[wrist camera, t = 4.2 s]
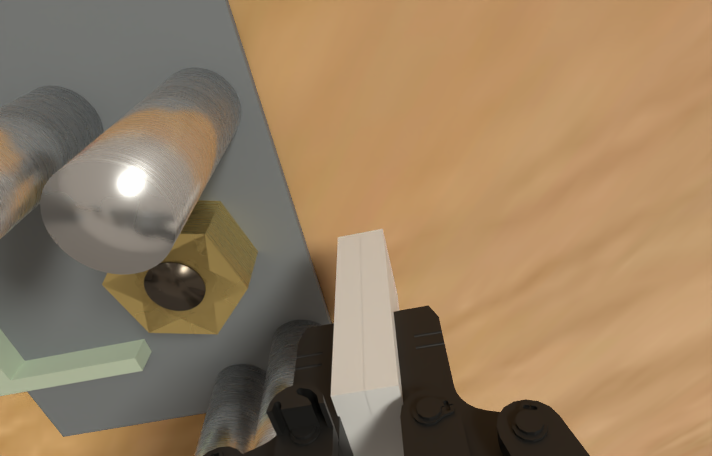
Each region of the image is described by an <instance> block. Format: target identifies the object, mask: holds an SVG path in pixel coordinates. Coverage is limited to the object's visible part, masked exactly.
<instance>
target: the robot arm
mask: <svg viewBox="0 0 712 456" xmlns="http://www.w3.org/2000/svg"><path fill="white" fill-rule="evenodd" d="M266 413H267V415H268V417H269V419H270V421H271V424H272V426H273V428H274V430H275V432H276V434H277V435H276V436H275V437H274V438H273V439H271V440H270V441H268V442H267V443H265V444H263V445H261V446H259V447H257V448H255V449H253V450H250V451H248V452H246V453H244V454H242V453H241V452H240V451H239V450H238V449H236V448H233V447H230V446H226V447H218V448H216V449H214V450H211V451H209V452H207V453H206V454H205V455H203V456H590V455H589V454H588V453H587V451H586V450H585V449H584V447H583V446H582V445H581V443H580V442H579V441H578V440H577V438H576V437H575V436H574V434H573V433H572V432H571V430H570V429H569V428H568V426H567V425H566V424H565V422H564V421H563V420H562V418H561V417H560V416H559V415H558V414H557V413H556V412H555V411H554V410H553V409H552V408H551V407H550V406H547V405H545V404H543V403H541V402H539V401H532V400H521V401H515V402H512V403H511V404H509V405H507V406H506V407H504V408H503V409H502V411H501V412H495V411H487V410H482V409H478V408H475V407H473V406H471V405H469V404H467V403H466V402H465V401H463V400H462V399H461V398H460V397H459V395H458V394H457V393H456V390H455V388H454V384H453V380H452V375H451V371H450V366H449V362H448V357H447V353H446V348H445V344H444V339H443V335H442V330H441V326H440V321H439V317H438V316H437V314H436V313H435V312H434V311H433V310H432V309H431V308H430V307H429V306H424V307H418V308H412V309H406V310H401V311H399V304H398V296H397V290H396V286H395V281H394V277H393V272H392V268H391V264H390V259H389V255H388V250H387V246H386V241H385V237H384V233H383V229H379V230H374V231H369V232H363V233H358V234H353V235H348V236H343V237H338V248H337V269H336V291H335V312H334V323H333V324H327V325H321V326H315V327H310V328H307V329H306V330H305V332H304V334H303V335H302V337H301V338H300V340H299V342H298V349H297V359H296V364H295V372H294V380H293V386H290V387H287V388H285V389H284V390H282V391H281V392H279V393H278V394H277V395H276V396H275V397H274V398H273V399H272V400H271V402H270V403H269V406H268V408H267V411H266Z"/></svg>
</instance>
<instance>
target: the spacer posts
mask: <svg viewBox="0 0 712 456" xmlns="http://www.w3.org/2000/svg"><path fill="white" fill-rule="evenodd" d="M240 120H241V104H240V100H239V98H238V95H237V93H236V91H235V90H234V88H233V87H232V85H231V84H230V83H229V82H228V81H227V80H226V79H225V78H223V77H222V76H221V75H219V74H217V73H215V72H213V71H211V70H208V69H204V68H198V67H192V68H186V69H182V70H180V71H178V72H176V73H174V74H173V75H172V76H171V77H169V78H168V79H167V80H166V81H165V82H163V83H162V84H161V85H160V86H159V87H157V88H156V89H155V90H154V91H153V92H151V93H150V94H149V95H148V96H147V97H145V98H144V99H143V100H142V101H141V102H139V103H138V104H137V105H136V106H135V107H133V108H132V109H131V110H130V111H129V112H127V113H126V114H125V115H124V116H123V117H121V118H120V119H119V120H118V121H117V122H116V123H114V124H113V125H112V126H111V127H110V128H108V129H107V130H106V131H105V132H104V129H103V124H102V121H101V119H100V116H99V115H98V113H97V111H96V110H95V109H94V107H93V106H92V105H91V104H90V103H89V102H88V101H87V100H86V99H85V98H84V97H82V96H81V95H79V94H78V93H76V92H74V91H72V90H70V89H67V88H64V87H60V86H42V87H39V88H37V89H35V90H33V91H31V92H29V93H27V94H25V95H23V96H21V97H19V98H17V99H15V100H13V101H11V102H10V103H8V104H6V105H4V106H2V107H0V239H1V238H2V237H3V236H4V235H5V234H7V233H8V232H9V231H10V230H11V229H12V228H13V227H14V226H15V225H17V224H18V223H19V222H20V221H21V220H22V219H23V218H24V217H26V216H27V215H28V214H29V213H30V212H31V211H32V210H33V209H34V208H36V207H37V206H38V205H39V204H40V209H41V215H42V220H43V222H44V225H45V227H46V229H47V231H48V233H49V234H50V236H51V237H52V239H53V240H54V241H55V243H56V244H57V245H58V246H59V247H60V248H61V249H62V250H63V251H64V252H65V253H67V254H68V255H69V256H71V257H72V258H73V259H75V260H76V261H78V262H80V263H82V264H84V265H86V266H88V267H90V268H93V269H95V270H98V271H102V272H106V273H111V274H121V275H122V274H135V273H140V272H144V271H147V270H149V269H151V268H153V267H155V266H157V265H158V264H159V263H161V262H162V261H163V260H164V259H165V258H166V257H167V255H168V254H169V252H170V251H171V249H172V247H173V245H174V243H175V242H176V240H177V238H178V236H179V234H180V233H181V231H182V229H183V227H184V225H185V223H186V222H187V220H188V218H189V216H190V214H191V212H192V211H193V209H194V207H195V205H196V203H197V202H198V200H199V198H200V196H201V194H202V192H203V191H204V189H205V187H206V185H207V183H208V181H209V180H210V178H211V176H212V174H213V172H214V170H215V169H216V167H217V165H218V163H219V161H220V160H221V158H222V156H223V154H224V152H225V150H226V149H227V147H228V145H229V143H230V141H231V139H232V138H233V136H234V134H235V132H236V130H237V129H238V126H239V124H240ZM315 326H321V325H320V324H318V323H316V322H313V321H309V320H294V321H290V322H287V323H285V324H283V325H282V326H280V327H279V328H278V329H277V330H276V332H275V333H274V336H273V340H272V345H271V351H270V356H269V362H268V368H267V372H265V371H264V370H262V369H261V368H259V367H256V366H253V365H248V364H236V365H231V366H228V367H226V368H225V369H223V370H222V371H221V372H220V373H219V374H218V376H217V378H216V382H215V385H214V389H213V392H212V396H211V399H210V402H209V406H208V409H207V413H206V416H205V420H204V423H203V427H202V430H201V433H200V437H199V440H198V444H197V447H196V451H195V454H194V456H203V455H205V454H206V453H207V452H209V451H211V450H214V449H216V448H218V447H226V446H230V447H233V448H236V449H238V450H239V451H240V452H241V453H242V454H244V453H246V452H248V451H250V450H253V449H255V448H257V447H259V446H261V445H263V444H265V443H267V442H268V441H270V440H271V439H273V438H274V437H275V436H276V435H277V434H276V432H275V430H274V428H273V426H272V424H271V421H270V419H269V417H268V415H267V413H266V411H267V408H268V406H269V403H270V402H271V400H272V399H273V398H274V397H275V396H276V395H277V394H278V393H279V392H281V391H282V390H284V389H285V388H287V387H290V386H293V380H294V372H295V364H296V359H297V349H298V342H299V340H300V338H301V337H302V335H303V334H304V332H305V330H306V329H307V328H310V327H315Z"/></svg>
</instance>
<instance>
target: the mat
mask: <svg viewBox="0 0 712 456" xmlns="http://www.w3.org/2000/svg"><path fill="white" fill-rule="evenodd" d="M192 67H198V68H204V69H208V70H211V71H213V72H215V73H217V74H219V75H221V76H222V77H223V78H225V79H226V80H227V81H228V82H229V83H230V84H231V85H232V87H233V88H234V90H235V91H236V93H237V95H238V98H239V100H240V104H241V120H240V124H239V126H238V129H237V130H236V132H235V134H234V136H233V138H232V139H231V141H230V143H229V145H228V147H227V149H226V150H225V152H224V154H223V156H222V158H221V160H220V161H219V163H218V165H217V167H216V169H215V170H214V172H213V174H212V176H211V178H210V180H209V181H208V183H207V185H206V187H205V189H204V191H203V192H202V194H201V196H200V198H199V200H210V201H221V202H222V204H223V205H224V206H225V208H226V209H227V210H228V212H229V213H230V214H231V216H232V217H233V218H234V220H235V221H236V222H237V224H238V225H239V226H240V228H241V229H242V230H243V232H244V233H245V234H246V236H247V237H248V238H249V240H250V241H251V242H252V244H253V245H254V247H255V248H256V249H257V251H258V254H257V257H256V261H255V264H254V268H253V272H252V275H251V279H250V283H249V286H248V289H247V291H246V292H245V294H244V295H243V297H242V298H241V300H240V301H239V303H238V304H237V306H236V307H235V309H234V310H233V312H232V313H231V315H230V316H229V318H228V319H227V321H226V322H225V324H224V325H223V327H222V328H221V330H220V331H219V333H218V334H176V333H149V332H148V331H147V330H146V329H145V328H144V327H143V326H142V325H141V324H140V323H139V322H138V321H137V320H136V319H135V318H134V317H133V316H132V315H131V314H130V313H129V312H128V311H127V310H126V309H125V308H124V307H123V306H122V305H121V304H120V303H119V302H118V301H117V300H116V299H115V298H114V297H113V296H112V295H111V294H110V293H109V292H108V290H107V289H106V288H105V287H104V286H103V285H102V283H103V281H104V279H105V277H106V275H107V273H106V272H102V271H98V270H95V269H93V268H90V267H88V266H86V265H84V264H82V263H80V262H78V261H76V260H75V259H73V258H72V257H71V256H69V255H68V254H67V253H65V252H64V251H63V250H62V249H61V248H60V247H59V246H58V245H57V244H56V243H55V241H54V240H53V239H52V237H51V236H50V234H49V233H48V231H47V229H46V227H45V225H44V222H43V220H42V215H41V209H40V204H39V205H38V206H37V207H36V208H34V209H33V210H32V211H31V212H30V213H29V214H28V215H27V216H26V217H24V218H23V219H22V220H21V221H20V222H19V223H18V224H17V225H15V226H14V227H13V228H12V229H11V230H10V231H9V232H8V233H7V234H5V235H4V236H3V237H2V238H1V239H0V329H1V330H2V332H3V333H4V334H5V336H6V337H7V338H8V340H9V341H10V342H11V343H12V345H13V346H14V347H15V349H16V350H17V351H18V353H19V354H20V355H21V356H22V358H23V359H24V360H25V361H27V360H33V359H38V358H44V357H49V356H54V355H60V354H65V353H71V352H76V351H82V350H87V349H93V348H98V347H103V346H109V345H114V344H120V343H125V342H131V341H136V340H142V339H145V341H146V343H147V344H148V346H149V348H150V350H151V351H152V352H151V354H150V356H149V358H148V360H147V363H146V365H145V367H144V369H143V371H139V372H133V373H128V374H122V375H116V376H111V377H105V378H99V379H94V380H88V381H82V382H77V383H71V384H66V385H60V386H54V387H49V388H43V389H37V390H32V391H27V392H28V393H29V394H30V396H31V397H32V398H33V399H34V401H35V402H36V403H37V404H38V406H39V407H40V408H41V409H42V411H43V412H44V413H45V414H46V416H47V417H48V418H49V419H50V421H51V422H52V423H53V424H54V426H55V427H56V428H57V429H58V431H59V432H60V433H61V434H62V436H63V437H65V436H71V435H77V434H83V433H89V432H95V431H101V430H107V429H113V428H119V427H125V426H131V425H137V424H143V423H149V422H155V421H161V420H167V419H173V418H179V417H185V416H191V415H197V414H203V413H207V409H208V406H209V402H210V399H211V396H212V392H213V389H214V385H215V382H216V378H217V376H218V374H219V373H220V372H221V371H222V370H223V369H225V368H226V367H228V366H231V365H236V364H248V365H253V366H256V367H259V368H261V369H262V370H264V371H265V372H267V368H268V362H269V356H270V351H271V345H272V340H273V336H274V333H275V332H276V330H277V329H278V328H279V327H280V326H282V325H283V324H285V323H287V322H290V321H294V320H309V321H313V322H316V323H318V324H320V325H327V324H332V322H331V319H330V316H329V313H328V310H327V307H326V304H325V301H324V298H323V294H322V291H321V288H320V285H319V282H318V279H317V276H316V273H315V270H314V266H313V263H312V260H311V257H310V254H309V251H308V248H307V245H306V242H305V238H304V235H303V232H302V229H301V226H300V223H299V220H298V217H297V214H296V211H295V207H294V204H293V201H292V198H291V195H290V192H289V189H288V186H287V183H286V179H285V176H284V173H283V170H282V167H281V164H280V161H279V158H278V155H277V151H276V148H275V145H274V142H273V139H272V136H271V133H270V130H269V127H268V124H267V120H266V117H265V114H264V111H263V108H262V105H261V102H260V99H259V96H258V92H257V89H256V86H255V83H254V80H253V77H252V74H251V71H250V68H249V64H248V61H247V58H246V55H245V52H244V49H243V46H242V43H241V40H240V37H239V33H238V30H237V27H236V24H235V21H234V18H233V15H232V12H231V9H230V5H229V2H228V0H0V107H2V106H4V105H6V104H8V103H10V102H11V101H13V100H15V99H17V98H19V97H21V96H23V95H25V94H27V93H29V92H31V91H33V90H35V89H37V88H39V87H42V86H60V87H64V88H67V89H70V90H72V91H74V92H76V93H78V94H79V95H81V96H82V97H84V98H85V99H86V100H87V101H88V102H89V103H90V104H91V105H92V106H93V107H94V109H95V110H96V111H97V113H98V115H99V116H100V119H101V121H102V124H103V129H104V132H105V131H106V130H107V129H108V128H110V127H111V126H112V125H113V124H114V123H116V122H117V121H118V120H119V119H120V118H121V117H123V116H124V115H125V114H126V113H127V112H129V111H130V110H131V109H132V108H133V107H135V106H136V105H137V104H138V103H139V102H141V101H142V100H143V99H144V98H145V97H147V96H148V95H149V94H150V93H151V92H153V91H154V90H155V89H156V88H157V87H159V86H160V85H161V84H162V83H163V82H165V81H166V80H167V79H168V78H169V77H171V76H172V75H173V74H174V73H176V72H178V71H180V70H182V69H186V68H192Z"/></svg>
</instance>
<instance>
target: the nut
mask: <svg viewBox="0 0 712 456" xmlns="http://www.w3.org/2000/svg"><path fill="white" fill-rule="evenodd" d="M257 254H258V251H257V249H256V248H255V247H254V245H253V244H252V242H251V241H250V240H249V238H248V237H247V236H246V234H245V233H244V232H243V230H242V229H241V228H240V226H239V225H238V224H237V222H236V221H235V220H234V218H233V217H232V216H231V214H230V213H229V212H228V210H227V209H226V208H225V206H224V205H223V204H222V202H221V201H210V200H198V202H197V203H196V205H195V207H194V209H193V211H192V212H191V214H190V216H189V218H188V220H187V222H186V223H185V225H184V227H183V229H182V231H181V233H180V234H179V236H178V238H177V240H176V242H175V243H174V245H173V247H172V249H171V251H170V252H169V254H168V255H167V257H166V258H165V259H164V260H163V261H162V262H161V263H159V264H158V265H157V266H155V267H153V268H151V269H149V270H147V271H144V272H140V273H135V274H122V275H121V274H111V273H107V275H106V277H105V279H104V281H103V283H102V285H103V286H104V287H105V288H106V289H107V290H108V292H109V293H110V294H111V295H112V296H113V297H114V298H115V299H116V300H117V301H118V302H119V303H120V304H121V305H122V306H123V307H124V308H125V309H126V310H127V311H128V312H129V313H130V314H131V315H132V316H133V317H134V318H135V319H136V320H137V321H138V322H139V323H140V324H141V325H142V326H143V327H144V328H145V329H146V330H147V331H148V332H149V333H176V334H218V333H219V331H220V330H221V328H222V327H223V325H224V324H225V322H226V321H227V319H228V318H229V316H230V315H231V313H232V312H233V310H234V309H235V307H236V306H237V304H238V303H239V301H240V300H241V298H242V297H243V295H244V294H245V292H246V291H247V289H248V286H249V283H250V279H251V275H252V272H253V268H254V264H255V261H256V257H257Z"/></svg>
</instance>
